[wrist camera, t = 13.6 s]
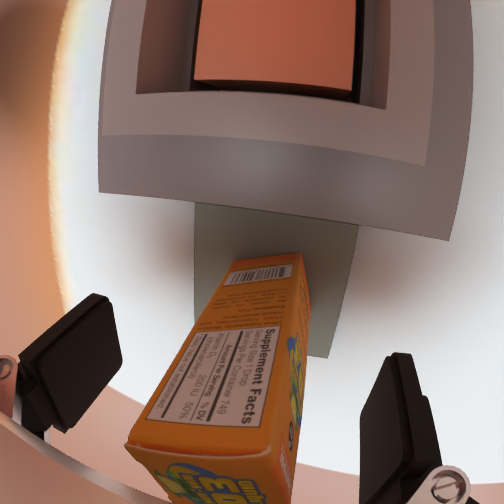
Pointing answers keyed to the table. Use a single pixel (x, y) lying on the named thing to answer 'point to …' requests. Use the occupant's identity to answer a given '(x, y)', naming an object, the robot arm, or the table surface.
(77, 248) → the table surface
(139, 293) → the table surface
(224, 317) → the supplement box
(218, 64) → the breaker button
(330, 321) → the rest mat
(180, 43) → the frame
